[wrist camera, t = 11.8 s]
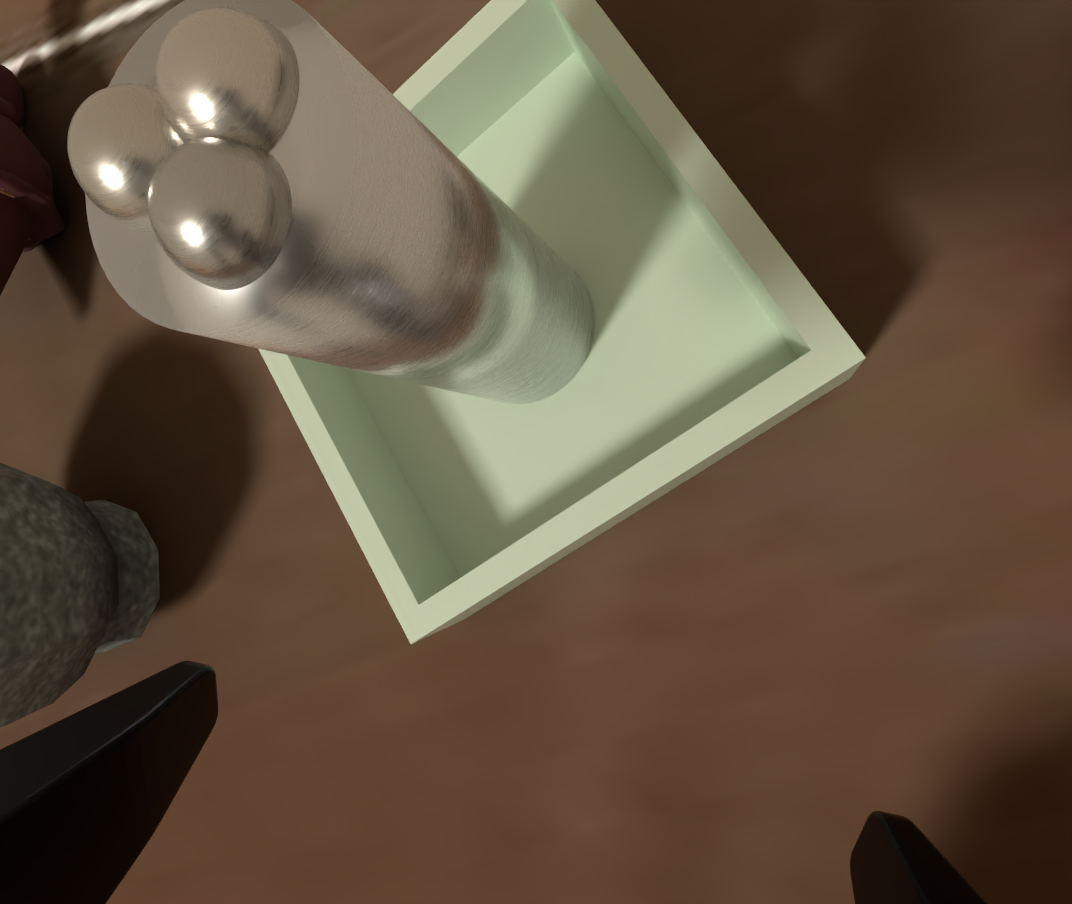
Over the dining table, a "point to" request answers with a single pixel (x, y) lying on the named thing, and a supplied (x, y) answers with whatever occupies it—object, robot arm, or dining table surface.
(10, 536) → the mortar and pestle
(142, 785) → the robot arm
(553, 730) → the dining table surface
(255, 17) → the cylinder with three balls
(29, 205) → the icecream
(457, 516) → the pale green bin
